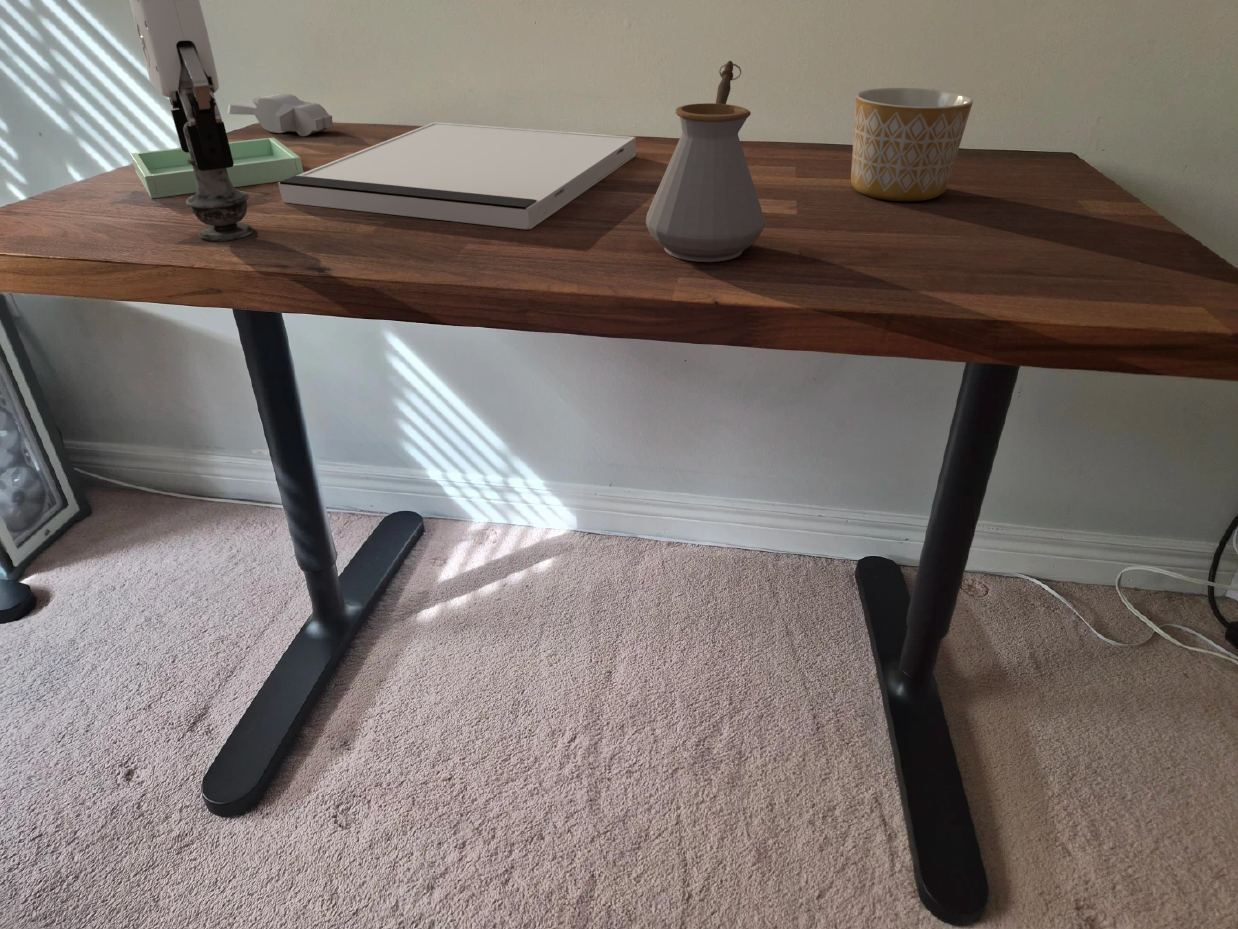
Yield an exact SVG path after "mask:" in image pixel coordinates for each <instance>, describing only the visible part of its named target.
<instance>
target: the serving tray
mask: <svg viewBox="0 0 1238 929" xmlns="http://www.w3.org/2000/svg"><path fill="white" fill-rule="evenodd" d="M228 142H229V141H228ZM229 146H230V150H231V154H232V158H233V162H234V165H233V166H232V167H230V168H226V169H227V173H228V176H229V179H230V181H231V183H232V185H233V187H234V188H239V187H247V186H254V185H262V184H271V183H278V182H280V181H283V180H285V179H288V178H291V177H293V176H297V175H299V174H302V173H304V172H305V171H304V168H303V163H302V158H301V157H300V156H299V155H298V154H296V153H295V152H294V151H292V150H291V149H290V148H289V147H287V146H286V145H285V144H283V143H282V142H280V141H279V140H278V139H277V138H275V137H265V138H256V139H248V140H247V139H246V140H237V141H230V142H229ZM130 156H131V161H132V164H133V166H134V170H135V173H136V175H137V177H138V178H139V180H140V183H141V184H142V185H143V187H144V189H145V190H146V192H147V194H148V195H149V197H150V199H159V198H167V197H174V196H182V195H188V194H196V192H197V183H196V178H195V174H194V171H193V167H192V165H191V164H190V163H188V159H189V158H190V157H191V156H190V153H189V152H188V153H186V152H184V151H183V150H182V149H181V147H176V148H167V149H158V150H149V151H140V152H132V153H131V152H130Z"/></svg>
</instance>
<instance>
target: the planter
mask: <svg viewBox="0 0 1238 929" xmlns="http://www.w3.org/2000/svg"><path fill="white" fill-rule="evenodd" d="M854 103H855V107H854V121H853V138H852V155H851V156H852V158H851V170H850V171H851V173H850V182H851V185H852V187H853V189H854V190H856V191H857V193H859V194H862V195H863V196H866V197H870V198H872V199H873V198H874V199H877V200H883V201H891V202H905V203H910V202H911V203H914V202H925V201H930V200H933V199H936V198H938V197H940V196H942V195H943V194H944V192H945V191H946V190H947V188H948V186H949V185H948V184H949V182H950V178H951V175H952V173H953V168H954V166H955V162H956V159H957V156H958V153H959V149H960V146H961V144H962V139H963V136H964V134H965V130H966V126H967V122H968V120H969V117H970V112H971V109H972V107H973V104H974V100H973V98H971V97H970V96H968V95H966V94H962V93H957V92H954V91H947V90H940V89H932V88H921V87H881V88H869V89H865V90H861V91H859V92H857V93H856V94H855V102H854Z"/></svg>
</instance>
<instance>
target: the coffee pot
mask: <svg viewBox="0 0 1238 929" xmlns="http://www.w3.org/2000/svg"><path fill="white" fill-rule="evenodd" d="M734 67H736V68H738V70H739V73H738V74H739V75H738V76H736V77H734V72H733V71H734ZM722 68H724V70H723V71H722ZM718 72H719V75H720V77H721V80H720V82H719V84H718V85H717V92H716V98H715V103H710V102H709V103H708V102H706V103H705V102H703V103H690V104H684V105H679V106H678V107H676V108H675V114H676V116H678V117H679V121H680V126H681V132H682V133H681V134H680V138H679V140H678V142H677V144H676V147H675V149H674V151H673V153H672V156H671V158H670V160H669V163H668V165H667V167H666V169H665V172H664V174H663V176H662V178H661V181H660V183H659V185H658V188H657V190H656V193H655V195H654V197H653V199H652V201H651V204H650V206H649V208H648V211H647V213H646V218H645V225H646V227H647V230H648V232H649V234H650V235H651V237H652V238H653V239H654V241H656V243H658V245H660V246H661V247H662V248H663V250H664V251H665V253H666V254H668V255H669V256H672V257H674V258H676V259H680V260H685V261H689V262H697V263H698V262H701V263H714V262H716V263H717V262H722V261H723V262H724V261H728V260H733V259H735V258H737V257H739V256H741V255H742V253H743V252H744V250H746V249H748V248H749V247H752V245H753V244H754V243H755V242H756V241H757V240H758V238H759V237H760V236H761V234H762V232H763V230H764V228H765V226H766V221H765V216H764V212H763V209H762V207H761V203H760V200H759V197H758V194H757V190H756V186H755V184H754V182H753V178H752V175H751V172H750V169H749V165H748V162H747V159H746V155H745V152H744V149H743V146H742V142H741V141H740V137H739V132H740V131H741V129H742V127H743V125H744V124H745V123H746V121H747V120H748V118H749V117H750V116H751V115H752V114H751V113H752V112H751V111H750V110H749V109H747V108H745V107H742V106H739V105H734V104H727V101H728V98H729V95H730V92H731V89H732V88H731V81H735V80H738V79H739V78H740V77H741V75H742V69H741V66H739V65H738V64H736V63H733V61H732V60H728V61H727V62H726V63H725V64H723V65H721V66H720V68H719V71H718Z"/></svg>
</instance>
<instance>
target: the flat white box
mask: <svg viewBox="0 0 1238 929" xmlns="http://www.w3.org/2000/svg"><path fill="white" fill-rule="evenodd" d="M636 139H637V137H636V136H629V135H628V136H627V135H617V134H616V135H615V134H600V133H588V132H577V131H576V132H574V131H561V130H546V129H535V128H533V129H532V128H520V127H509V126H495V125H494V126H493V125H482V124H481V125H480V124H468V123H453V122H440V121H433V122H431V123H428V124H425V125H423V126H421V127H417V128H416V129H415V128H414V129H412V130H411V131H407V132H405V133H402V134H400V135H397V136H395V137H392V138H390V139H386V140H384V141H382V142H378V143H377V144H374V145H372V146H369V147H366V148H363V149H361V150H359V151H356V152H353V153H350V154H349V155H346V156H343V157H341V158H337V159H335V160H333V161H329V162H327V163H325V164H323V165H319V166H317V167H315V168H312V169H310V170H307V171H303V172H304V173H302V174H299V175H297V176H293V177H291V178H288V179H285V180H283V181H278V182H277V185H278V189H279V193H280V198H281V201H282V202H283V203H286V204H295V205H304V206H314V207H321V208H322V207H323V208H329V209H340V210H350V211H358V212H367V213H374V214H375V213H376V214H385V215H395V216H402V217H403V216H404V217H412V218H421V219H430V220H439V221H447V222H449V221H450V222H456V223H463V224H464V223H465V224H466V223H467V224H473V225H481V226H482V225H483V226H491V227H500V228H508V229H509V228H511V229H519V230H531V229H533V228H535V227H536V226H537V225H539V224H540V223H543V221H545V220H546V219H547V218H549V217H551V216H552V215H553V214H555V213H556V212H558V211H559V210H561V209H562V208H564V207H565V206H566V205H568V204H569V203H571V202H572V201H573V200H575V199H576V198H578V197H579V196H580V195H582V194H583V193H585V192H587V191H588V190H589V189H591V188H592V187H593V186H595V185H596V184H598V183H599V182H601V181H602V180H604V179H605V178H606V177H608V176H609V175H611V174H612V173H613V172H615V171H616V170H618V169H619V168H620V167H622V166H623V165H624V164H627V163H628V162H629V161H630V160H632V159H633V158H635V157H636V154H637V153H636V152H637V150H636V148H637V145H636V144H637V143H636Z"/></svg>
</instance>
